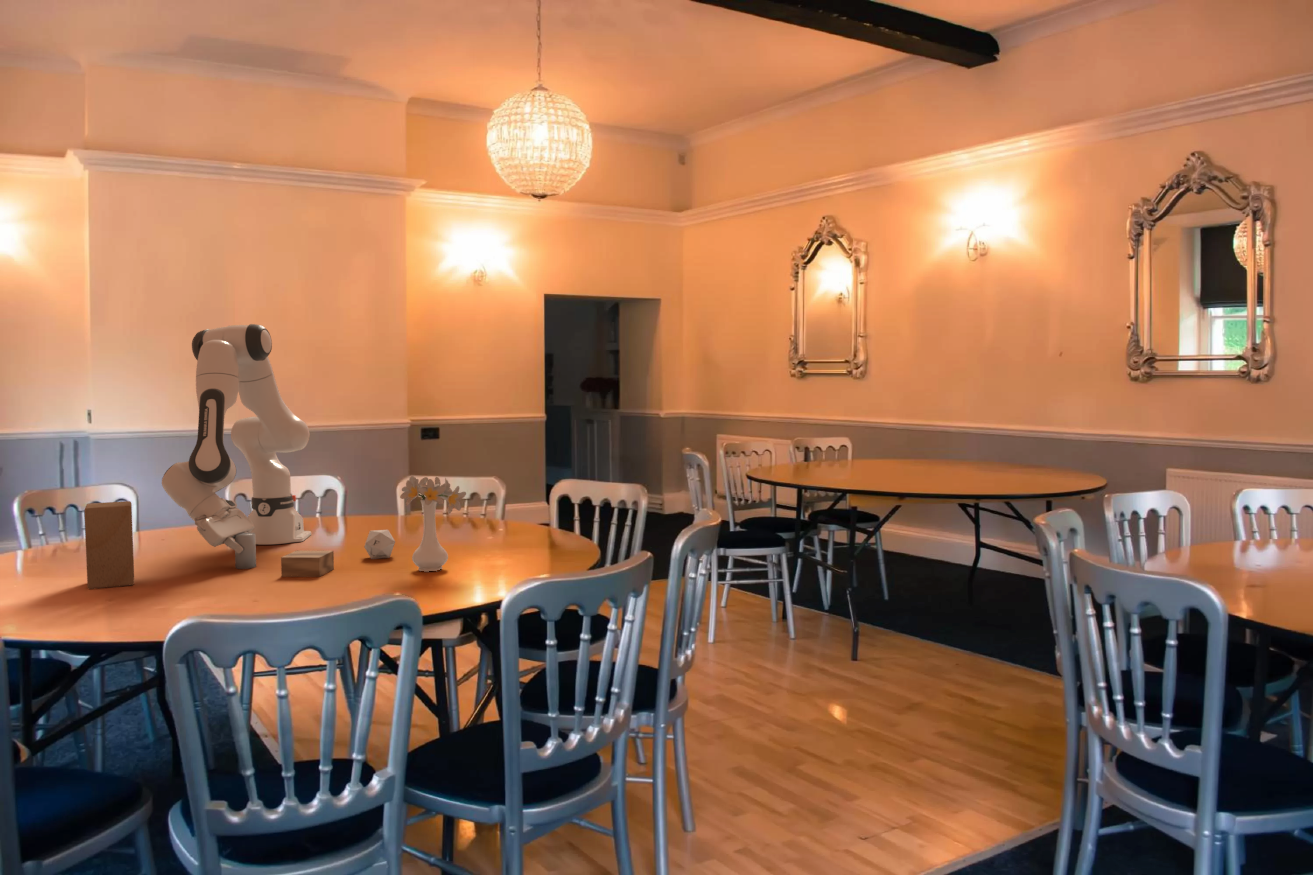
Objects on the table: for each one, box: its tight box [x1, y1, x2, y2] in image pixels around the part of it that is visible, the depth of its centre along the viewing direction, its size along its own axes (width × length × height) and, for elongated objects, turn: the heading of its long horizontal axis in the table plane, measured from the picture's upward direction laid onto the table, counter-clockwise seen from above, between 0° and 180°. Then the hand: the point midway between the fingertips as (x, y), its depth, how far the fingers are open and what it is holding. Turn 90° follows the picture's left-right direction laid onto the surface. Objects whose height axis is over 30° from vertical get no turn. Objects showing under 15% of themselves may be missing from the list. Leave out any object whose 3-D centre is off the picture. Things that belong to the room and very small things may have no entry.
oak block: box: [280, 549, 335, 578], centre depth 259 cm, size 10×10×5 cm
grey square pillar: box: [234, 533, 257, 570], centre depth 267 cm, size 5×5×9 cm
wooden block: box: [83, 500, 135, 590], centre depth 245 cm, size 10×10×20 cm
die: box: [364, 529, 396, 560], centre depth 280 cm, size 8×9×10 cm
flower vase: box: [399, 475, 467, 573], centre depth 262 cm, size 13×18×25 cm
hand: (247, 549), depth 267 cm, fingers closed on grey square pillar, 5 cm apart
